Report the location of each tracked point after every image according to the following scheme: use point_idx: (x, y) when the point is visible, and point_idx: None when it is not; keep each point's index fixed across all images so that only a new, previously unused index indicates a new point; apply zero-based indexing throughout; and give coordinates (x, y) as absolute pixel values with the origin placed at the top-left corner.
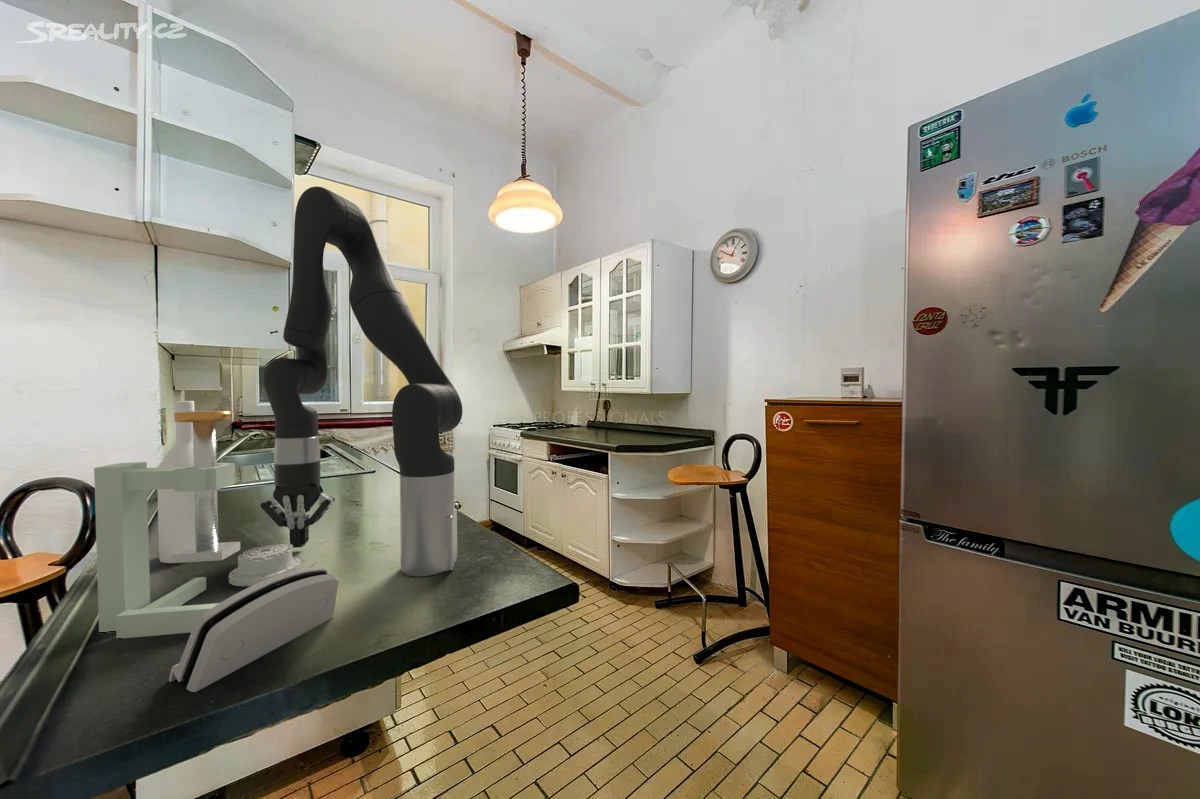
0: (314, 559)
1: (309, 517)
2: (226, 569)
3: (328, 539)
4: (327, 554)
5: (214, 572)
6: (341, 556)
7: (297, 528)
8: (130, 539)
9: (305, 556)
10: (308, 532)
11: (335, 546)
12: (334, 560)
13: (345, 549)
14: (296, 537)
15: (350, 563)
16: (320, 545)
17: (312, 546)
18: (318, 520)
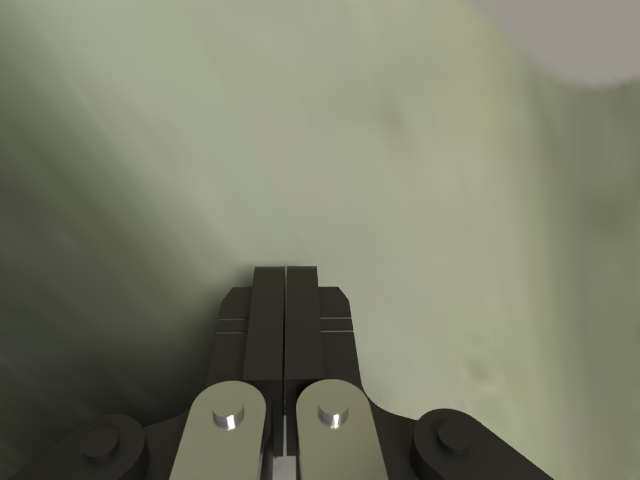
0: (437, 395)
1: (383, 477)
2: (35, 448)
3: (420, 6)
4: (492, 344)
5: (7, 468)
6: (575, 378)
7: (277, 432)
8: None
9: (369, 354)
10: (355, 351)
11: (519, 216)
12: (544, 417)
13: (593, 284)
14: (284, 390)
15: (621, 451)
16: (396, 174)
17: (339, 186)
18: (475, 428)
